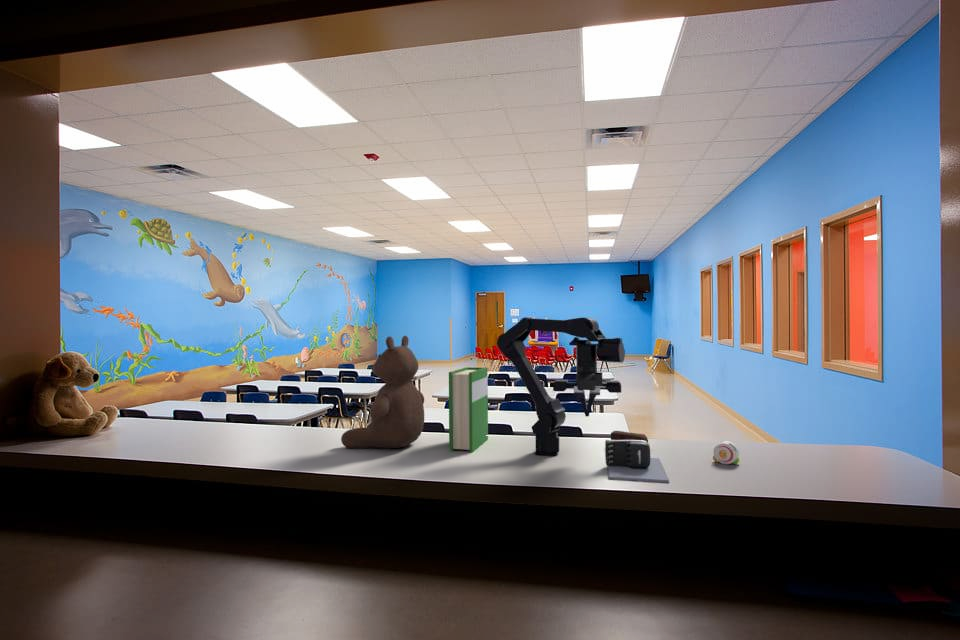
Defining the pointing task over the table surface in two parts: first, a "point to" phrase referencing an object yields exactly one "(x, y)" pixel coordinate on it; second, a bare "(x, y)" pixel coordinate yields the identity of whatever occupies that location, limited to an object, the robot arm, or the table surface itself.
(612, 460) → the battery charger
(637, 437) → the brick
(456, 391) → the hardback book
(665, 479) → the mat
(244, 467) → the table surface
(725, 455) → the sushi roll
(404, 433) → the stuffed bear
